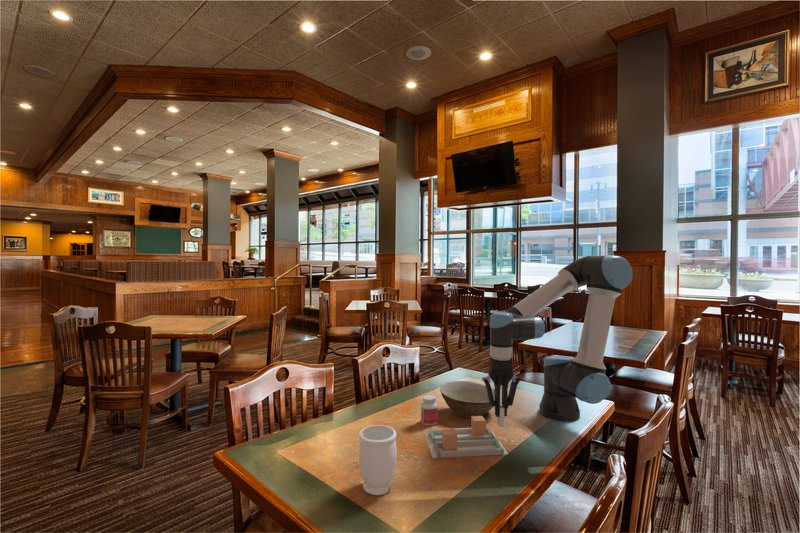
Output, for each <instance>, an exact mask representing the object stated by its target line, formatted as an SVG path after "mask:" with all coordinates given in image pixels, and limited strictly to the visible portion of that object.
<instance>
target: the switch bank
mask: <svg viewBox="0 0 800 533" xmlns="http://www.w3.org/2000/svg"><path fill="white" fill-rule="evenodd" d="M442 429H443V428H436V429H435V428H434V429H432V428H431V429H428V433H425V434H424V435H425V438H426V441H427V445H428V447H429V449H430V450H429V451H430V454H431V457H432V459H435V458H458V457H478V456H479V457H481V456H499V455H500V456H501V455H509V453H508V451H507V450H506V449H505V447H504V446H503V444H502V443H501V441H500V440H499V439H498V437H497V436H496V434H495V433H494V431H493V430H491V429H490V428H489V426H486V435H479V436H472V434H471V427H461V428H459V427H457V428H454V427H452V429H455V431H456V433H457V450H447V451H443V449H442Z"/></svg>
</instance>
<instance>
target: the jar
mask: <svg viewBox="0 0 800 533" xmlns="http://www.w3.org/2000/svg"><path fill="white" fill-rule="evenodd" d="M358 433H359V435H358V436H359V440H360V442H359V449H358V450H359V451H358V457H359V465H360V473H361V478H362V479H363V485H362V489H363V490H364V492H366V494H368V495H369V494H370V495H372V496H383V495H386V494H388V493H390V491H391V487H390V486H391V485H392V481H393V479H394V477H395V472H396V465H397V458H398V451H397V450H398V448H397V443H396V439H397V436H398V435H397V430H396V429H395V428H393V427H392V426H389V425H386V424H385V425H384V424H374V425H368V426H366V427H364V428H362V429H361V430H360V431H359V432H358Z"/></svg>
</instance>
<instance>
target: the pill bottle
mask: <svg viewBox="0 0 800 533" xmlns="http://www.w3.org/2000/svg"><path fill="white" fill-rule="evenodd" d="M438 408H439V406H438V403H437V402H436V396H435V395H430V394H429V395H424V396H423V397H422V402H421V404H420V412H421V413H420V422H421V425H422V426H425V427H434V426H437V425H438V422H439V415H438V413H439V412H438V411H439V410H438Z"/></svg>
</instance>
